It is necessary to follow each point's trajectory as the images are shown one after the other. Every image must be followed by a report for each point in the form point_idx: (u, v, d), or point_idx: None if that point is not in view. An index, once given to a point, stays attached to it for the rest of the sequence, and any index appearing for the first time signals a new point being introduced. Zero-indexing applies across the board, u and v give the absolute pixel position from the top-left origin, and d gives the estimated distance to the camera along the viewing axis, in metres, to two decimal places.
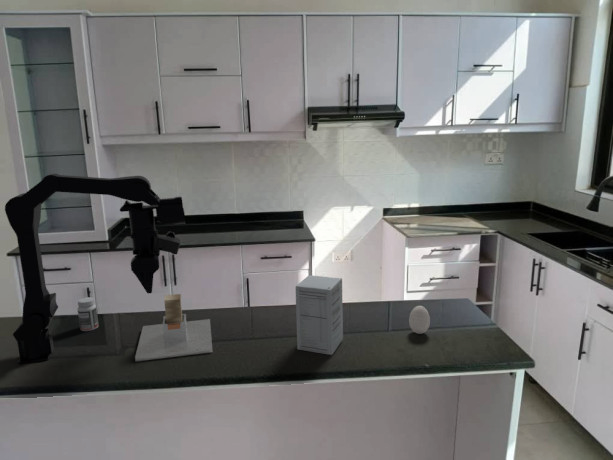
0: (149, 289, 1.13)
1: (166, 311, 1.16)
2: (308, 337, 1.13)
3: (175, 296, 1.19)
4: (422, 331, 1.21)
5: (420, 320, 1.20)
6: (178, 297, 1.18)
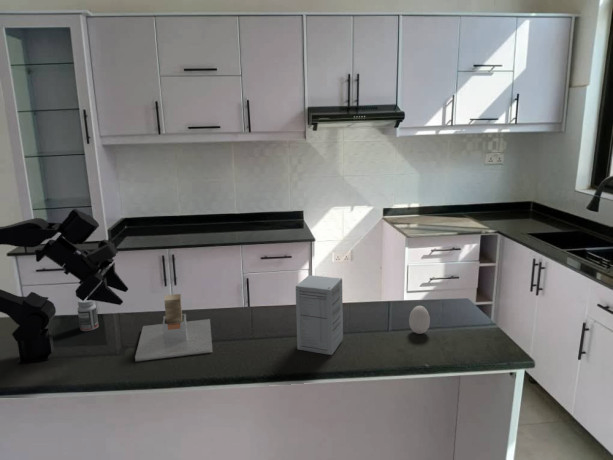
0: (118, 301, 1.10)
1: (166, 311, 1.16)
2: (309, 337, 1.13)
3: (175, 296, 1.19)
4: (422, 331, 1.21)
5: (420, 320, 1.20)
6: (178, 297, 1.18)
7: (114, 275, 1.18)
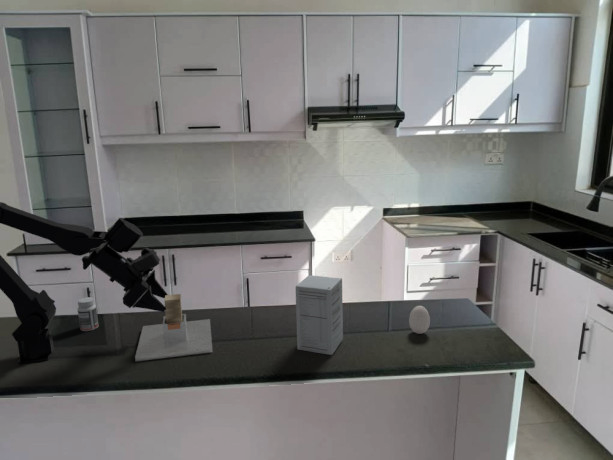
0: (161, 308, 1.13)
1: (166, 311, 1.16)
2: (308, 337, 1.13)
3: (175, 296, 1.19)
4: (422, 331, 1.21)
5: (420, 320, 1.20)
6: (178, 297, 1.18)
7: (154, 282, 1.21)
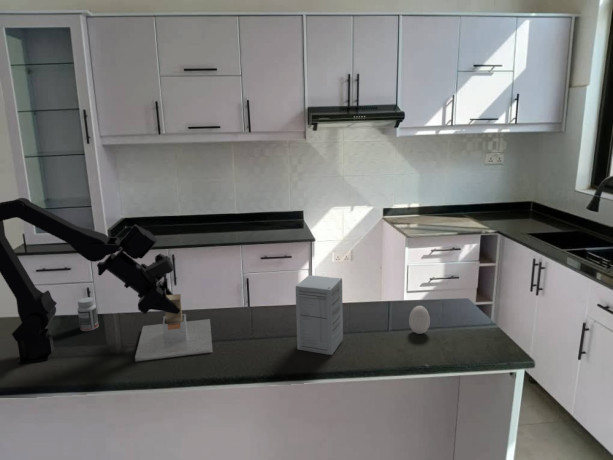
0: (175, 310, 1.16)
1: None
2: (308, 337, 1.13)
3: (175, 296, 1.19)
4: (422, 331, 1.21)
5: (420, 320, 1.20)
6: (178, 297, 1.18)
7: (167, 291, 1.20)
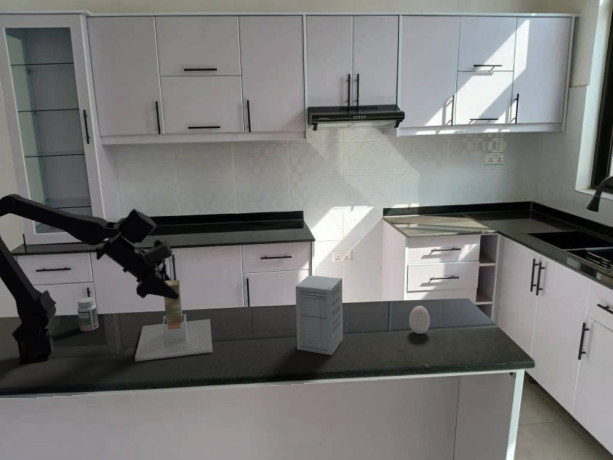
0: (174, 295, 1.15)
1: (165, 297, 1.16)
2: (308, 337, 1.13)
3: (174, 282, 1.18)
4: (422, 331, 1.21)
5: (420, 320, 1.20)
6: (177, 283, 1.17)
7: (165, 277, 1.19)
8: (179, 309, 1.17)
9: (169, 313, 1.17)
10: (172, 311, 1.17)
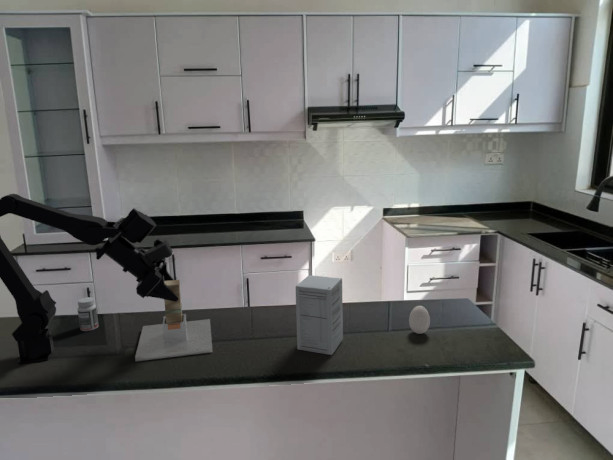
0: (174, 297, 1.14)
1: None
2: (308, 337, 1.13)
3: (174, 282, 1.18)
4: (422, 331, 1.21)
5: (420, 320, 1.20)
6: (177, 282, 1.17)
7: (166, 275, 1.21)
8: (179, 309, 1.17)
9: (169, 313, 1.17)
10: (172, 311, 1.17)
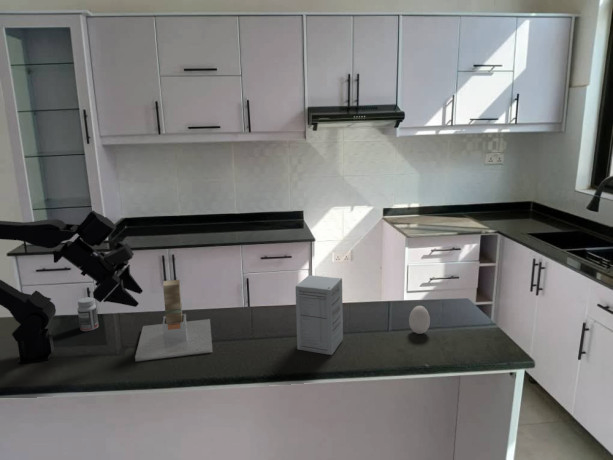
0: (133, 303, 1.11)
1: (165, 296, 1.16)
2: (308, 337, 1.13)
3: (174, 282, 1.18)
4: (422, 331, 1.21)
5: (420, 320, 1.20)
6: (177, 282, 1.17)
7: (128, 277, 1.19)
8: (179, 309, 1.17)
9: (169, 313, 1.17)
10: (172, 311, 1.17)
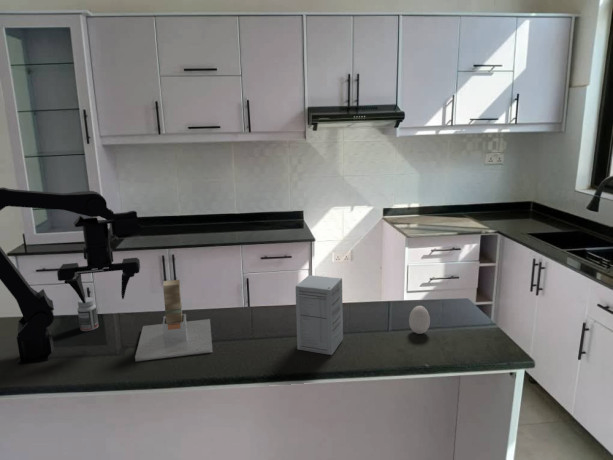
0: (124, 294, 1.20)
1: (165, 296, 1.16)
2: (308, 337, 1.13)
3: (174, 282, 1.18)
4: (422, 331, 1.21)
5: (420, 320, 1.20)
6: (177, 282, 1.17)
7: (81, 283, 1.17)
8: (179, 309, 1.17)
9: (169, 313, 1.17)
10: (172, 311, 1.17)
